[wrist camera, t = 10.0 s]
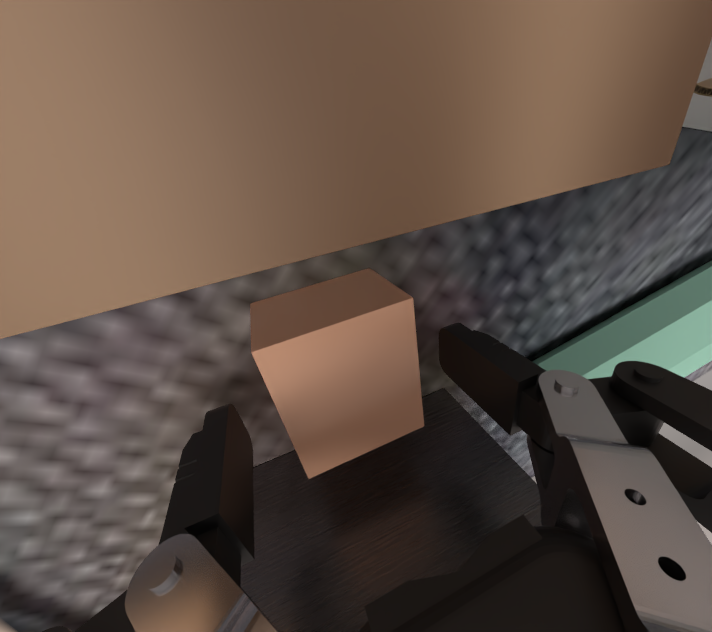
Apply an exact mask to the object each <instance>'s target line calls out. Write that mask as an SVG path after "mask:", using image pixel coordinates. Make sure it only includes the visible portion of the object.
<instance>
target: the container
mask: <svg viewBox="0 0 712 632" xmlns="http://www.w3.org/2000/svg"><path fill="white" fill-rule="evenodd" d="M711 360H712V260H711V261H709V262H708V263H706V264H704V265H702V266H701V267H699V268H697V269H695V270H693V271H692V272H690V273H688V274H686V275H684V276H683V277H681V278H679V279H677V280H675V281H674V282H672V283H670V284H668V285H667V286H665V287H663V288H661V289H659V290H658V291H656V292H654V293H652V294H651V295H649V296H647V297H645V298H644V299H642V300H640V301H638V302H636V303H635V304H633V305H631V306H629V307H628V308H626V309H624V310H622V311H621V312H619V313H617V314H615V315H614V316H612V317H610V318H608V319H606V320H605V321H603V322H601V323H599V324H598V325H596V326H594V327H592V328H591V329H589V330H587V331H585V332H583V333H582V334H580V335H578V336H576V337H575V338H573V339H571V340H569V341H568V342H566V343H564V344H562V345H561V346H559V347H557V348H555V349H553V350H552V351H550V352H548V353H546V354H545V355H543V356H541V357H539V358H538V359H536V360H534V361H532V362H533V363H535V364H537V365H538V366H540V367H541V368H543V369H545V370H546V371H549V370H565V371H570V372H573V373H576V374H579V375H581V376H583V377H584V378H586V379H593V378H602V377H610V376H612V374H613V371H614V368H615V366H616V365H617V364H618V363H620V362H624V361H640V362H646V363H650V364H654V365H657V366H660V367H662V368H664V369H667V370H669V371H671V372H673V373H675V374H677V375H679V376H682V377H686V376H687V375H689V374H690V373H692V372H694V371H695V370H697V369H699V368H700V367H702V366H703V365H705V364H707V363H708V362H710V361H711Z"/></svg>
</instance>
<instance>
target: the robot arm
mask: <svg viewBox="0 0 712 632" xmlns="http://www.w3.org/2000/svg"><path fill="white" fill-rule="evenodd" d="M439 360H440V364H441V367H442V369H443V371H444V372H445V373H446V375H447V376H448V377H450V378H451V379H452V380H453V381H454V382H455V383H456V384H457V385H458V386H459V387H460V388H461V389H462V390H463V391H464V392H465V393H466V394H467V395H468V396H469V397H470V398H472V399H473V400H474V401H475V402H476V403H477V404H478V405H479V406H480V407H481V408H482V409H483V410H484V411H485V412H486V413H487V414H488V415H489V416H490V417H491V418H492V419H494V420H495V421H496V422H497V423H498V424H499V425H500V426H501V427H502V428H503V429H504V430H505V431H506V432H507V433H508V434H509V435H510V436H511V435H513V434H515V433H517V432H519V431H521V430H523V431H524V432H525V433H526V434H527V444H528V449H529V453H530V457H531V461H532V465H533V469H534V474H535V478H536V482H537V486H538V490H539V495H540V502H541V524H542V526H532V525H531V523H530V522H529V521H528V520H527V519H526V517H525V516H524V515H522V516H520V517H518V518H516V519H515V520H513V521H511V522H509V523H508V524H506V525H504V526H502V527H501V528H499V529H497V530H496V531H494V532H492V533H490V534H489V535H488V536H487V537H486V538H485V539H484V541H483V542H482V543H481V544H480V546H479V547H478V548H477V549H476V550H475V552H474V553H473V554H472V555H471V557H470V558H469V559H468V560H467V562H466V563H465V564H464V565H463V566H462V568H461V569H460V570H459V571H457V572H455V573H450V574H445V575H439V576H434V577H428V578H422V579H417V580H411V581H407V582H406V583H404V584H402V585H400V586H399V587H397V588H395V589H393V590H392V591H390V592H388V593H387V594H385V595H383V596H381V597H380V598H378V599H376V600H374V601H373V602H371V603H369V604H367V605H366V606H364V607H365V610H366V614H367V617H368V621H367V622H366V623H365V625H364V626H363V627H362V628H361V629H360V630H359V632H712V545H711V543H710V542H709V540H708V539H707V537H706V536H705V534H704V532H703V531H702V529H701V528H700V526H699V524H698V523H697V521H698V522H699V523H700V524H701V525H703V526H704V527H705V528H706V529H708V530H709V531H710V532H711V533H712V468H711V467H710V466H708V465H707V464H705V463H704V462H702V461H701V460H699V459H697V458H696V457H694V456H693V455H691V454H690V453H688V452H687V451H685V450H683V449H682V448H680V447H679V446H677V445H676V444H674V443H673V442H671V441H669V440H668V439H666V438H665V437H663V436H662V435H660V434H659V431H660V429H661V427H662V425H663V423H664V422H665V423H667V424H668V425H670V426H671V427H673V428H675V429H676V430H678V431H679V432H681V433H683V434H685V435H686V436H688V437H689V438H691V439H693V440H694V441H696V442H698V443H699V444H701V445H703V446H704V447H706V448H708V449H709V450H711V451H712V391H711V390H709V389H707V388H705V387H703V386H700V385H698V384H696V383H694V382H692V381H690V380H688V379H686V378H684V377H682V376H679V375H677V374H675V373H673V372H671V371H669V370H667V369H664V368H662V367H660V366H657V365H654V364H650V363H646V362H640V361H624V362H620V363H618V364H617V365H616V366H615V368H614V371H613V374H612V376H610V377H602V378H593V379H586V378H584V377H583V376H581V375H579V374H576V373H573V372H570V371H565V370H549V371H546V370H545V369H543V368H541V367H540V366H538V365H537V364H535V363H533V362H532V361H530V360H528V359H527V358H525V357H524V356H522V355H520V354H519V353H517V352H516V351H514V350H512V349H509V347H508V346H506V345H504V344H503V343H500V342H499V341H498V340H496V339H495V338H493V337H491V336H490V335H488V334H485V333H482V332H479V331H475V330H473V331H472V330H470V329H469V328H467V327H465V326H464V325H462V324H461V323H455V324H453V325H450V326H447V327H444V328H441V329H440V331H439ZM175 480H176V483H175V484H174V487H173V491H172V495H171V499H170V503H169V507H168V511H167V515H166V519H165V523H164V527H163V531H162V535H161V539H160V542H159V545H158V546H157V547H156V548H155V549H154V550H153V551H152V552H151V553H150V554H149V555H148V556H147V557H146V558H145V559H144V561H143V562H142V563H141V565H140V566H139V567H138V569H137V571H136V572H135V574H134V576H133V578H132V580H131V582H130V584H129V587H128V589H127V590H126V591H125V592H124V593H123V594H121V595H120V596H119V597H118V598H117V599H115V600H114V601H113V602H111V603H110V604H109V605H108V606H106V607H105V608H104V609H102V610H101V611H100V612H99V613H97V614H96V615H95V616H94V617H92V618H91V619H90V620H88V621H87V622H86V623H85V624H83V625H82V626H81V627H79V628H78V629H77V630H76V631H72V630H70V629H68V628H65V627H63V626H57V627H53V628H49V629H47V630H45V631H43V632H280V631H279V630H278V628H277V627H276V626H275V625H274V624H273V623H272V622H271V620H270V619H269V618H268V617H267V616H266V615H265V614H264V613H263V611H262V610H261V609H260V608H259V607H258V606H257V605H256V603H255V602H254V601H253V600H252V599H251V598H250V597H249V596H248V594H247V593H246V592H245V591H244V590H243V589H242V588H241V566H242V565H244V564H246V563H248V562H251V561H253V560H254V495H253V448H252V443H251V439H250V436H249V433H248V431H247V429H246V428H245V426H244V424H243V422H242V420H241V418H240V416H239V414H238V412H237V411H236V409H235V407H234V405H233V404H231V403H230V404H228V405H225V406H222V407H219V408H216V409H214V410H211V411H208V412H207V413H206V415H205V420H204V426H203V430H202V431H200V432H197V433H194V434H193V435H192V436H191V438H190V440H189V441H188V443H187V444H186V446H185V447H184V449H183V451H182V455H181V459H180V463H179V469H178V471H177V475H176V479H175Z"/></svg>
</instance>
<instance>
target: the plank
mask: <svg viewBox="0 0 712 632" xmlns="http://www.w3.org/2000/svg"><path fill="white" fill-rule="evenodd" d="M711 39H712V0H0V339H2V338H5V337H9V336H13V335H17V334H21V333H25V332H28V331H32V330H36V329H40V328H44V327H48V326H52V325H55V324H59V323H63V322H67V321H71V320H75V319H78V318H82V317H86V316H90V315H94V314H98V313H101V312H105V311H109V310H113V309H117V308H121V307H124V306H128V305H132V304H136V303H140V302H144V301H147V300H151V299H155V298H159V297H163V296H167V295H170V294H174V293H178V292H182V291H186V290H190V289H193V288H197V287H201V286H205V285H209V284H213V283H217V282H220V281H224V280H228V279H232V278H236V277H240V276H243V275H247V274H251V273H255V272H259V271H263V270H266V269H270V268H274V267H278V266H282V265H286V264H289V263H293V262H297V261H301V260H305V259H309V258H312V257H316V256H320V255H324V254H328V253H332V252H335V251H339V250H343V249H347V248H351V247H355V246H358V245H362V244H366V243H370V242H374V241H378V240H381V239H385V238H389V237H393V236H397V235H401V234H405V233H408V232H412V231H416V230H420V229H424V228H428V227H431V226H435V225H439V224H443V223H447V222H451V221H454V220H458V219H462V218H466V217H470V216H474V215H477V214H481V213H485V212H489V211H493V210H497V209H500V208H504V207H508V206H512V205H516V204H520V203H523V202H527V201H531V200H535V199H539V198H543V197H546V196H550V195H554V194H558V193H562V192H566V191H570V190H573V189H577V188H581V187H585V186H589V185H593V184H596V183H600V182H604V181H608V180H612V179H616V178H619V177H623V176H627V175H631V174H635V173H639V172H642V171H646V170H650V169H654V168H658V167H662V166H665V165H669V164H670V161H671V158H672V155H673V152H674V149H675V146H676V143H677V140H678V138H679V135H680V132H681V129H682V126H683V123H684V120H685V117H686V114H687V111H688V108H689V105H690V102H691V99H692V96H693V93H694V90H695V87H696V84H697V81H698V78H699V75H700V72H701V69H702V66H703V63H704V60H705V57H706V54H707V51H708V48H709V45H710V42H711Z"/></svg>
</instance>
